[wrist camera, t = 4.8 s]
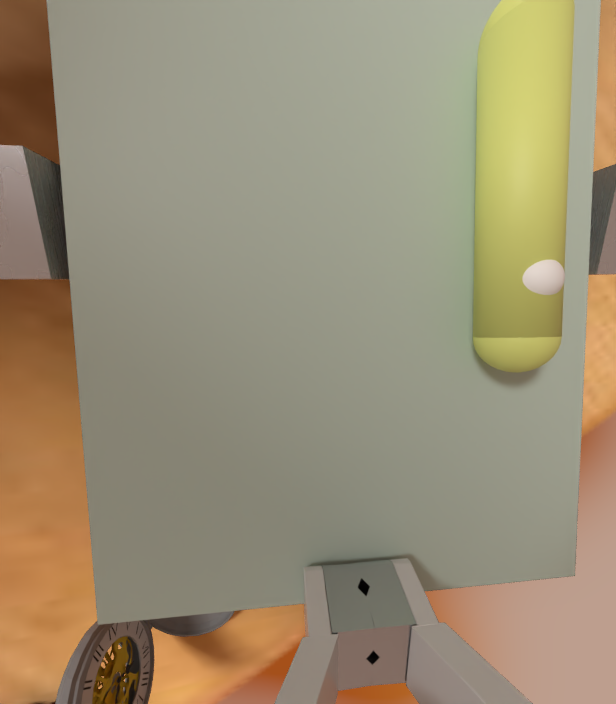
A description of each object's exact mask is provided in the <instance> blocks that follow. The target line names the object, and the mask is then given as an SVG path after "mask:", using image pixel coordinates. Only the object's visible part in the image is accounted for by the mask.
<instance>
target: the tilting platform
mask: <svg viewBox="0 0 616 704" xmlns="http://www.w3.org/2000/svg"><path fill="white" fill-rule="evenodd" d="M600 6H601V0H47V12H48V24H49V36H50V48H51V60H52V73H53V85H54V97H55V109H56V121H57V133H58V146H59V158H60V170H61V182H62V194H63V206H64V219H65V231H66V243H67V255H68V267H69V279H70V292H71V304H72V316H73V328H74V340H75V352H76V365H77V377H78V389H79V401H80V413H81V425H82V438H83V450H84V462H85V474H86V486H87V498H88V511H89V523H90V535H91V547H92V559H93V571H94V584H95V596H96V608H97V620H98V625H101V624H110V623H120V622H130V621H140V620H150V619H159V618H169V617H179V616H189V615H198V614H208V613H218V612H228V611H237V610H247V609H257V608H267V607H276V606H286V605H296V604H304V567H309V566H322V565H340V564H356V563H359V562H369V561H379V560H388V559H389V560H394V559H405V558H408V560H409V561H410V562H411V564H412V566H413V568H414V570H415V572H416V574H417V576H418V579H419V581H420V583H421V585H422V587H423V589H424V591H432V590H442V589H452V588H462V587H472V586H480V585H491V584H501V583H510V582H520V581H529V580H540V579H549V578H559V577H569V576H575V564H576V540H577V518H578V495H579V473H580V452H581V430H582V407H583V385H584V363H585V340H586V318H587V296H588V274H589V251H590V229H591V207H592V184H593V162H594V140H595V117H596V95H597V73H598V50H599V28H600Z"/></svg>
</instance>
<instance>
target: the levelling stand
mask: <svg viewBox="0 0 616 704" xmlns="http://www.w3.org/2000/svg"><path fill="white" fill-rule="evenodd" d="M608 274H616V164H615V165H612V166H609V167H606V168H603V169H601V170H598V171H595V172H593V184H592V207H591V229H590V251H589V274H588V275H608ZM0 279H26V280H70V279H69V267H68V255H67V243H66V231H65V219H64V206H63V194H62V182H61V170H60V165H58V164H56V163H54V162H52V161H50V160H48V159H47V158H45V157H43V156H41V155H39V154H37V153H35V152H33V151H31V150H29V149H28V148H26V147H24V146H11V145H0Z"/></svg>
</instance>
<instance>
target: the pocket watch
mask: <svg viewBox="0 0 616 704" xmlns="http://www.w3.org/2000/svg"><path fill="white" fill-rule="evenodd" d="M233 613H234V611H228V612H218V613H208V614H198V615H189V616H179V617H169V618H159V619H150V620H140V621H130V622H120V623H110V624H101V625H98V621H97V622H96V623H95V624H94V625H93V626H92V627H91V628H90V629H89V630H88V631H87V632H86V633H85V635H84V636H83V638H82V639H81V641H80V642H79V644H78V646H77V648H76V649H75V651H74V653H73V655H72V656H71V658H70V660H69V663H68V665H67V668H66V670H65V672H64V675H63V678H62V681H61V684H60V687H59V690H58V694H57V699H56V703H55V704H148V701H149V697H150V693H151V687H152V681H153V673H154V644H153V638H152V633H151V628H152V627H154V628H155V629H158V630H160V631H162V632H164V633H167V634H170V635H174V636H183V637H185V636H199V635H202V634H205V633H208V632H212V631H214V630H216V629H218V628H219V627H221V626H222V625H224V624H225V623H226V622H227V621H228V620H229V619H230V618H231V616H232V615H233ZM118 644H119V645H120V646H121V649H119V650H118ZM111 645H112V650H111V653H110V656H109V654H108V652H107V651H108V649H109V648H110V646H111ZM112 652H113V654H114V660H111V658H110V657H111V654H112ZM104 656H105V658H106V660H107V661H108V663H107V664H106V661H105V660H104V659H103V658H104ZM103 660H104V661H103ZM101 662H104V663H105V666H106V667H105V669H104V668H103V667H101ZM125 665H126V666H125ZM125 668H126V670H125ZM116 672H117V673H116ZM119 672H120V673H119ZM115 673H116V674H115ZM124 674H126V675H125V676H124ZM120 675H121V676H120ZM101 676H104V678H102V677H101ZM125 678H126V679H125ZM121 679H122V680H121ZM124 679H125V682H124V681H123V680H124ZM98 681H99V686H100V685H101V684H102V686H103V684H104V686H103V687H102V688H101V689H98V688H99V686H97V685H98ZM100 681H101V682H102V683H101V684H100ZM95 682H96V683H95ZM123 687H124V690H123ZM94 696H95V697H94Z"/></svg>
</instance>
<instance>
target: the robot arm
mask: <svg viewBox="0 0 616 704" xmlns="http://www.w3.org/2000/svg"><path fill="white" fill-rule="evenodd" d="M304 617H305V635H306V637H303V638H302V640H301V643H300V645H299V647H298V650H297V652H296V654H295V657H294V659H293V661H292V664H291V666H290V669H289V671H288V673H287V675H286V678H285V680H284V682H283V685H282V687H281V689H280V692H279V694H278V696H277V699H276V701H275V703H274V704H335V702H336V698H337V691H339V690H345V689H352V688H359V687H365V686H371V685H382V684H396V683H406V686H407V687H408V689H409V690H410V691H411V693H412V694H413V696H414V697H415V698H416V700H417V701H418V703H419V704H533V703H532V702H531V701H529V700H528V699H527V698H526V697H525V696H524V695H523V694H522V693H521V692H520V691H519V690H517V689H516V688H515V687H514V686H513V685H512V684H511V683H510V682H509V681H508V680H507V679H506V678H504V677H503V676H502V675H501V674H500V673H499V672H498V671H497V670H496V669H495V668H494V667H493V666H491V665H490V664H489V663H488V662H487V661H486V660H485V659H484V658H483V657H482V656H481V655H480V654H478V653H477V652H476V651H475V650H474V649H473V648H472V647H471V646H470V645H469V644H468V643H466V642H465V641H464V640H463V639H462V638H461V637H460V636H459V635H458V634H457V633H456V632H454V631H453V630H452V629H451V628H450V627H449V626H448V625H447V624H446V623H439V622H438V619H437V617H436V615H435V613H434V611H433V609H432V607H431V605H430V602H429V600H428V598H427V596H426V594H425V592H424V589H423V587H422V585H421V583H420V581H419V579H418V576H417V574H416V572H415V570H414V568H413V566H412V564H411V562H410V561H409V560H408V558H405V559H394V560H389V559H388V560H379V561H369V562H359V563H356V564H340V565H322V566H309V567H304Z"/></svg>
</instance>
